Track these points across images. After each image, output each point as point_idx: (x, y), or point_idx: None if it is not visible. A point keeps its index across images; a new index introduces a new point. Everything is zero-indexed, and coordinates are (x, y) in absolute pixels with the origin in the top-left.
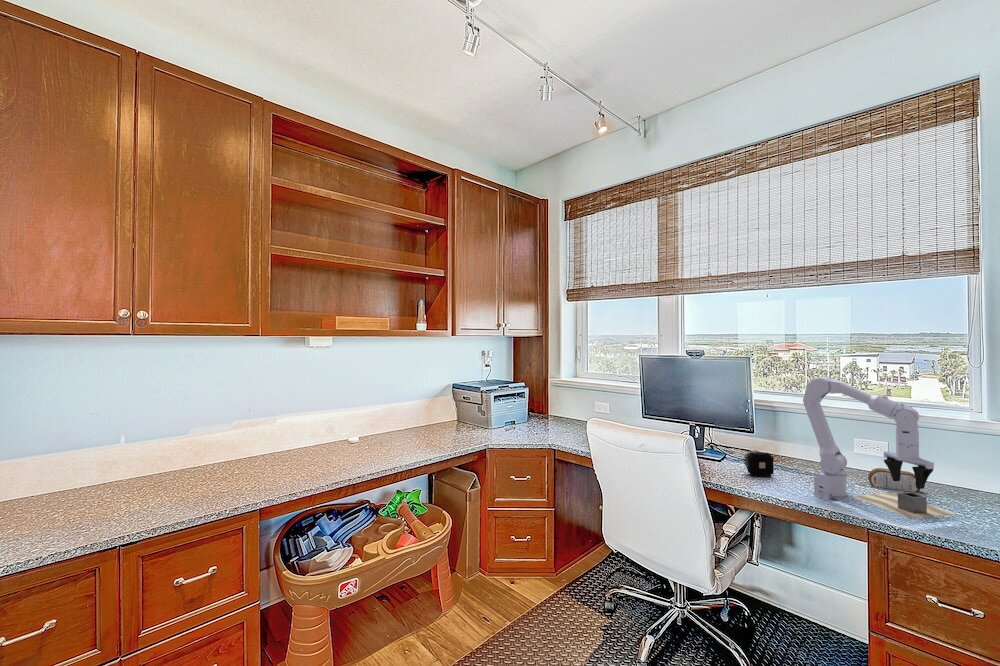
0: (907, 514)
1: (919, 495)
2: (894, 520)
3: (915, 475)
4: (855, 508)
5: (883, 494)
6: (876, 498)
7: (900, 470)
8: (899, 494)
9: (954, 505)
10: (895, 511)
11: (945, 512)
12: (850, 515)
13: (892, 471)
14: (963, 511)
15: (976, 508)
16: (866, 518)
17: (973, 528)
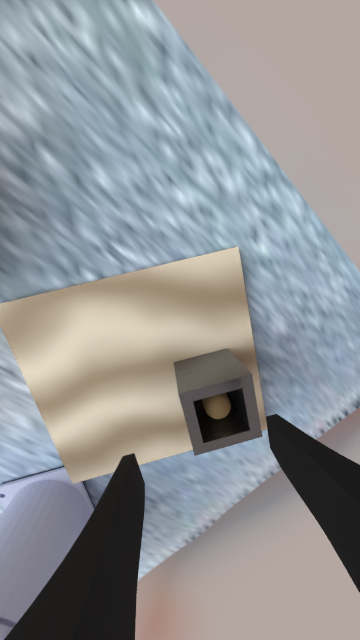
0: None
1: (228, 388)
2: (243, 446)
3: (350, 567)
4: (155, 491)
5: (29, 365)
6: (88, 419)
7: (108, 532)
8: (201, 449)
9: (85, 114)
10: None
11: (226, 280)
12: (209, 524)
13: (136, 589)
14: (160, 149)
15: (116, 37)
16: (229, 500)
17: (309, 273)
